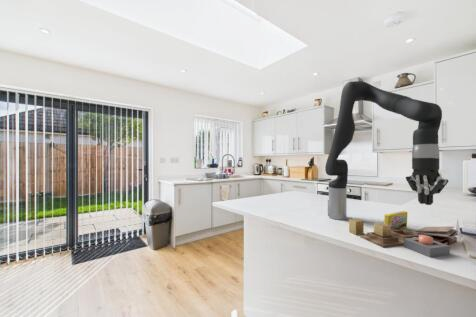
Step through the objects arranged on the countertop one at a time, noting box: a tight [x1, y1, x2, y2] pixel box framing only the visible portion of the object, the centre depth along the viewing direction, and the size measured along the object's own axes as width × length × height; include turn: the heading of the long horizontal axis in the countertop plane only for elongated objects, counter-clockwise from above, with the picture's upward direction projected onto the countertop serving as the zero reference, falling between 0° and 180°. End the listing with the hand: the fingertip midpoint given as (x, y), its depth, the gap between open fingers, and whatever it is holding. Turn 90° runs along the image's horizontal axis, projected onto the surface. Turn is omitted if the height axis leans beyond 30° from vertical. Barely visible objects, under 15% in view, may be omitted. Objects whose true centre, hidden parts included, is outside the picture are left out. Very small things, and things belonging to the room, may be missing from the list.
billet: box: [348, 218, 365, 236], centre depth 96 cm, size 4×4×6 cm
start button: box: [418, 234, 434, 246], centre depth 77 cm, size 4×4×4 cm
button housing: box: [403, 237, 451, 258], centre depth 77 cm, size 9×9×3 cm
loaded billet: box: [373, 222, 391, 238], centre depth 87 cm, size 4×4×6 cm
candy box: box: [383, 210, 408, 230], centre depth 99 cm, size 16×2×8 cm, turn 117°
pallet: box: [359, 229, 420, 248], centre depth 88 cm, size 11×22×2 cm, turn 103°
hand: (425, 204), depth 78 cm, fingers closed
